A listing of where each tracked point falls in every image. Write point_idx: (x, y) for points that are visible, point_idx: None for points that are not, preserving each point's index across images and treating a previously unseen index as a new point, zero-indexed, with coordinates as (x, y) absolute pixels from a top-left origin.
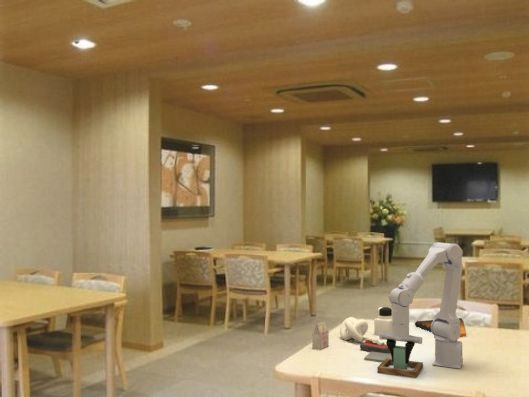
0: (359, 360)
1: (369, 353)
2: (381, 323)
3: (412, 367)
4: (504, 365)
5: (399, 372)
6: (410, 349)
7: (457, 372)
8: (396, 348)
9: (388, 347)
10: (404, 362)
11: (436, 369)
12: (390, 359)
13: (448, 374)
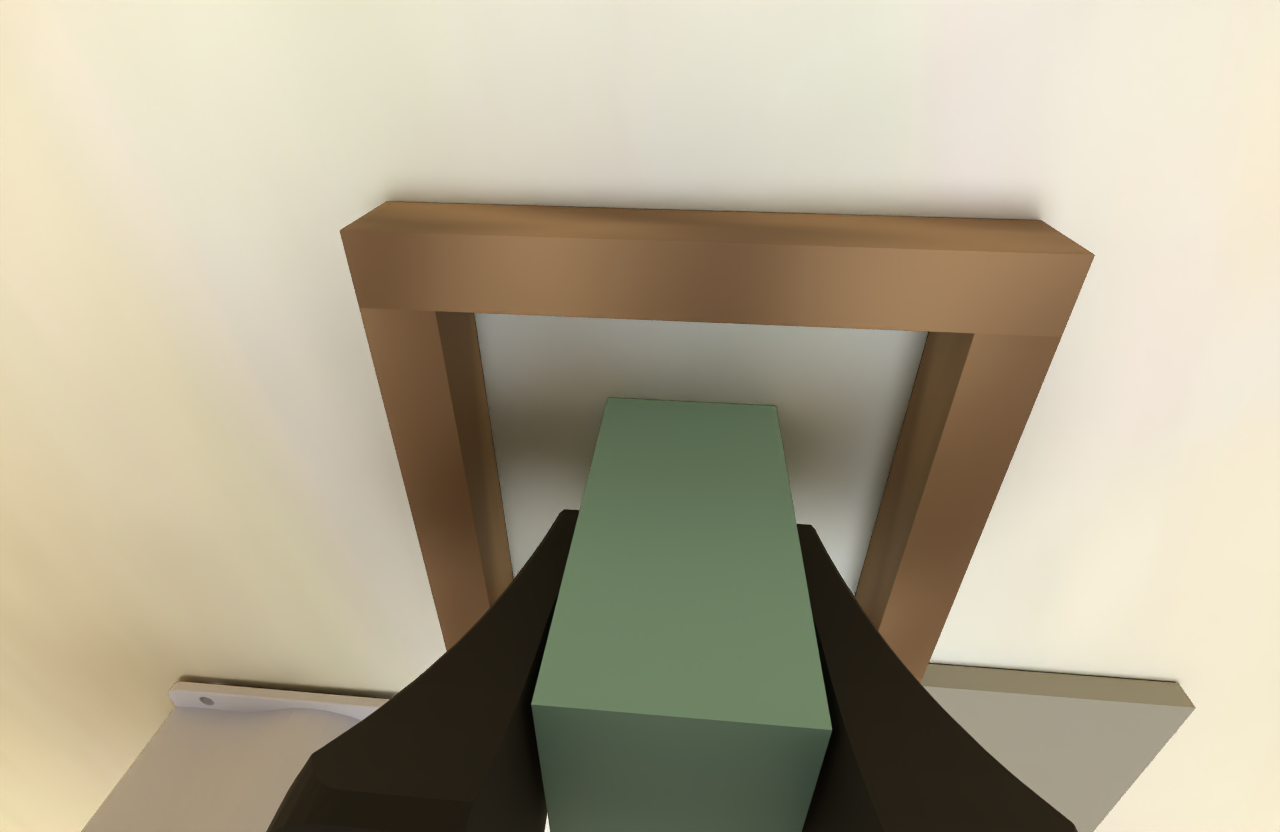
0: (1249, 657)
1: (1095, 821)
2: None
3: None
4: (9, 805)
5: (645, 224)
6: (389, 705)
7: (134, 595)
8: (755, 726)
9: (974, 743)
10: (596, 492)
11: (341, 617)
12: None
13: (158, 515)
